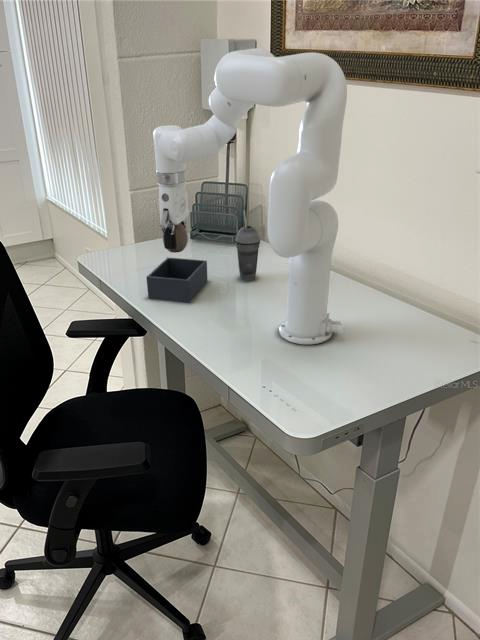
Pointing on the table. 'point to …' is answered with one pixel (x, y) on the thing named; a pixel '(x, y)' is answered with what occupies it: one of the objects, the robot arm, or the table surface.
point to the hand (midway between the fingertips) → (175, 243)
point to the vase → (179, 238)
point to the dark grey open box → (177, 280)
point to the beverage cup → (247, 251)
